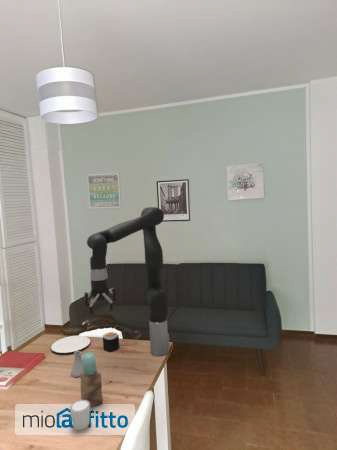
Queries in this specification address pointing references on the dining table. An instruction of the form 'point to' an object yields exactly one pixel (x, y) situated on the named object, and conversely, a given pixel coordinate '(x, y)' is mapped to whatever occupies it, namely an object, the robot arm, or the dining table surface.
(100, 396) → the tower base
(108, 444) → the dining table surface
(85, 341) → the plate
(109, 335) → the sushi
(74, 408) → the grey cup
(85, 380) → the tower top
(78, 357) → the flask
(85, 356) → the cylinder
